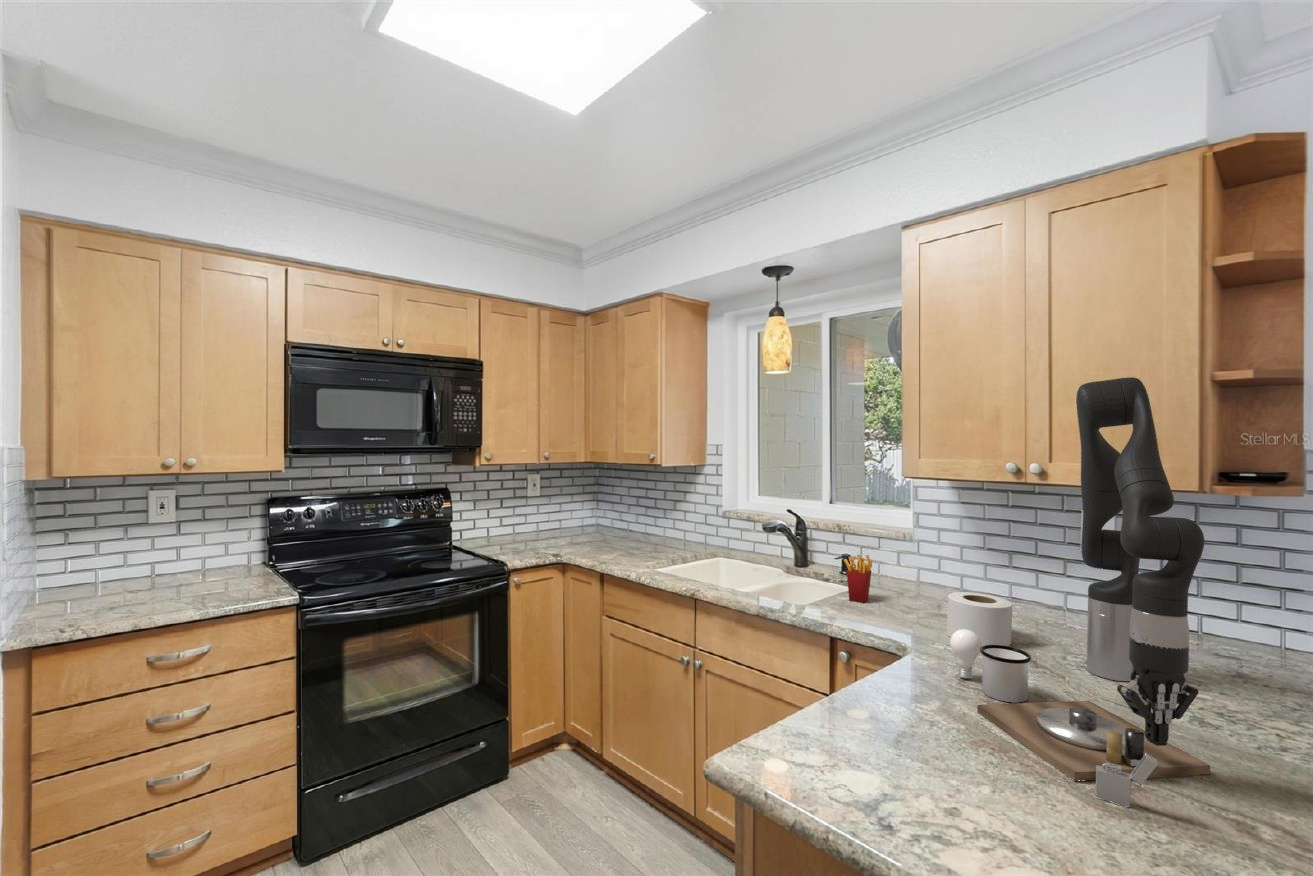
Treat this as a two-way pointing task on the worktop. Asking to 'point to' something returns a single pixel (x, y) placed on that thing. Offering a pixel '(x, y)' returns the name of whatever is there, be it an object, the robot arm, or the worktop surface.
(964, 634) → the lightbulb
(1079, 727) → the pot lid with knob
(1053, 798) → the worktop surface
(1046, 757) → the walnut board
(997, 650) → the mug
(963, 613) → the toilet paper roll
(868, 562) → the french fries
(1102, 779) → the lighter
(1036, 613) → the worktop surface
